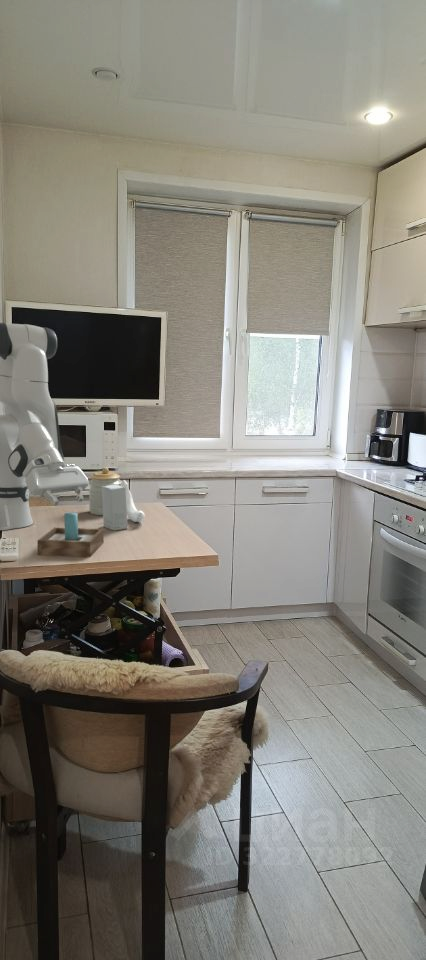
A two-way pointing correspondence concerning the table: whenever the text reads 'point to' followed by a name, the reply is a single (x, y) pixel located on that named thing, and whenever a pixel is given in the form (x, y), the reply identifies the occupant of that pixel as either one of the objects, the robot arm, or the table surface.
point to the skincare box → (114, 507)
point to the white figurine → (132, 507)
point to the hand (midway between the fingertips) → (68, 502)
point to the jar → (100, 489)
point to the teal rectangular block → (71, 526)
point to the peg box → (71, 543)
